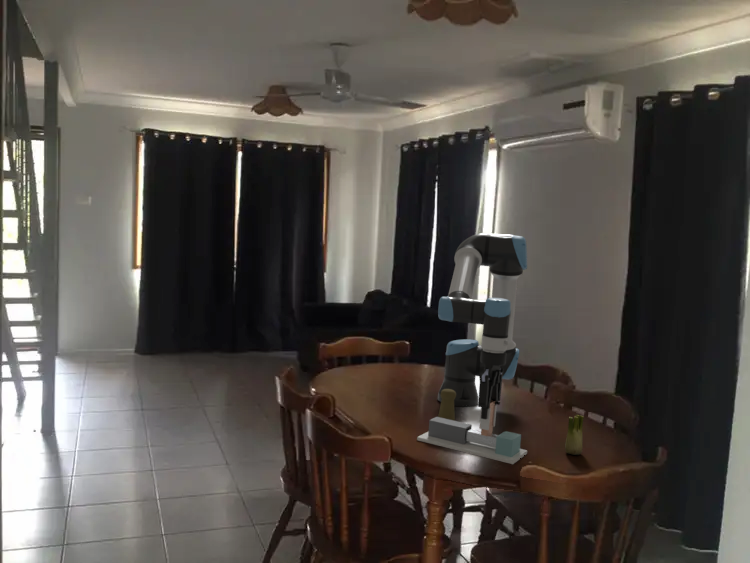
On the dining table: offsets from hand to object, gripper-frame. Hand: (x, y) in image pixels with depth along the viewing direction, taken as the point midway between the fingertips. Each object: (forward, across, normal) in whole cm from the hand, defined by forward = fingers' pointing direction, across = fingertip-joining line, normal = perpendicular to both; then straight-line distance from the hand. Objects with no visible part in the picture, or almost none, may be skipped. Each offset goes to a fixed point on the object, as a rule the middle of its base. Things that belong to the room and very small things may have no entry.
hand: (487, 427), depth 215 cm
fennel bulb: (+7, +16, -22) cm, 28 cm away
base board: (+7, 0, +4) cm, 8 cm away
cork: (+7, +19, +22) cm, 30 cm away
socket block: (+7, 0, -7) cm, 10 cm away
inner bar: (+5, 0, +3) cm, 6 cm away
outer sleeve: (+7, 0, +12) cm, 14 cm away
